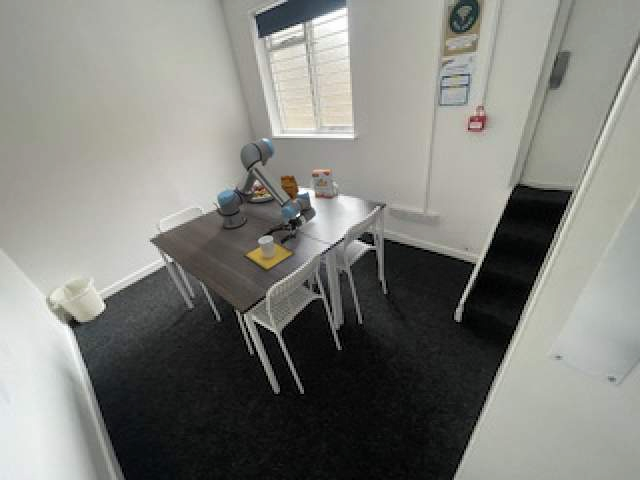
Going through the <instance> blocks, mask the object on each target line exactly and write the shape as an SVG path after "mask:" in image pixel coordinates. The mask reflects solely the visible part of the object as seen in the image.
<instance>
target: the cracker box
mask: <svg viewBox="0 0 640 480" xmlns="http://www.w3.org/2000/svg"><path fill="white" fill-rule="evenodd" d="M311 177H312V185H313V191H314V197H315V198H323V199H324V198H325V199H332V198H333V197H334V196H335V191H334V181H333V173H332V169H313V170H312V171H311Z"/></svg>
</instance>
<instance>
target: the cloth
mask: <svg viewBox="0 0 640 480" xmlns="http://www.w3.org/2000/svg"><path fill="white" fill-rule="evenodd" d="M274 246H275V251H276V254H275V256H273V257H271V258H265V257H264V255H263V252H262V250H261V247H260V246H259V247H257V248H255V249H253V250H251V251H250V252H248V253H246V254H245V255H244V256H245V257H246V258H248V259H250V261H253V262H254V263H256V264H257V265H258V266H260V267H261V268H263V269H265V270H266V271H268V270H270V269H272V268H273V267H275V266H276V265H278V264H279V263H281V262H283V261H284V260H285V259H287V258H289V257H290V256H292V255H294V252H293V251H291V250H289V249H287V248H285V247H284V246H281V244H278V243H276V242H274Z"/></svg>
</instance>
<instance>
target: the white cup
mask: <svg viewBox="0 0 640 480" xmlns="http://www.w3.org/2000/svg"><path fill="white" fill-rule="evenodd" d="M257 242H258V244H259V247H261V250H262V252H263V255H264V257H265V258H271V257H273V256H275V254H276V251H275V246H274V243H275V242H274V237H273V236H272V235H270V236H264V237H263V236H262V237H260V238H259V239H257Z"/></svg>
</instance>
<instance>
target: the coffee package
mask: <svg viewBox="0 0 640 480" xmlns="http://www.w3.org/2000/svg"><path fill="white" fill-rule="evenodd" d="M279 177H280V187H281V188H282V189H283V190H284V191H285V192H286V194H287V195H288V196H289V197H290V198H291V199H292V200H295V199H296V198H297V192H299V191H300V190H299V186H298V183H297V180H296V178H295V176H294V175H280V176H279Z"/></svg>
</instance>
